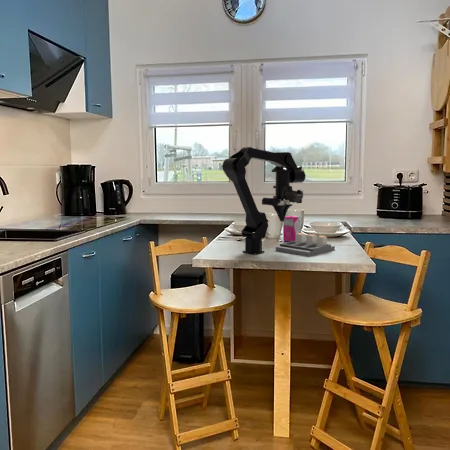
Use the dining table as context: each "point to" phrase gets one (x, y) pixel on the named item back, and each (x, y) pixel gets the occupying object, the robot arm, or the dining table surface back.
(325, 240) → the switch tab
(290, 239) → the supplement box
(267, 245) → the dining table surface
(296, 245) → the switch bank
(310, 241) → the switch tab
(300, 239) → the switch tab
